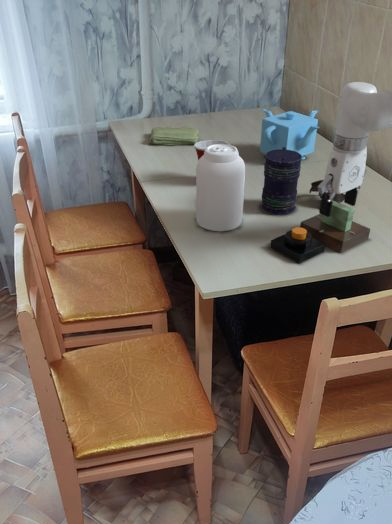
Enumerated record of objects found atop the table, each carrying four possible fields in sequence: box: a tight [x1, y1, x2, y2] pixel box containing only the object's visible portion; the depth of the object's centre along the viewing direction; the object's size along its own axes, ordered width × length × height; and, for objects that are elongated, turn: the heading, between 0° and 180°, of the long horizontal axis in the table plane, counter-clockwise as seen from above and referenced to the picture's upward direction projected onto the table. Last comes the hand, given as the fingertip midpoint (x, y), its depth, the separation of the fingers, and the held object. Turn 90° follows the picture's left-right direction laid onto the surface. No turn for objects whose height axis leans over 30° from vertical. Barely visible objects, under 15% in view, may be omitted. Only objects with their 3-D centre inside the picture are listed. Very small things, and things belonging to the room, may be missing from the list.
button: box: [291, 226, 307, 240], centre depth 134 cm, size 4×4×2 cm
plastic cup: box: [193, 139, 231, 162], centre depth 165 cm, size 11×11×12 cm
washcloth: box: [149, 126, 200, 146], centre depth 198 cm, size 13×18×3 cm
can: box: [195, 144, 246, 232], centre depth 142 cm, size 12×12×20 cm
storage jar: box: [260, 147, 302, 216], centre depth 149 cm, size 10×10×18 cm
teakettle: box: [259, 108, 321, 160], centre depth 181 cm, size 19×19×15 cm
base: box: [299, 213, 371, 253], centre depth 141 cm, size 14×12×3 cm
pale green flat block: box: [321, 200, 355, 232], centre depth 138 cm, size 8×2×6 cm, turn 39°
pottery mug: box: [308, 179, 346, 204], centre depth 157 cm, size 12×10×8 cm
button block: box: [269, 229, 326, 264], centre depth 135 cm, size 10×9×4 cm
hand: (337, 209), depth 138 cm, fingers open, 9 cm apart
